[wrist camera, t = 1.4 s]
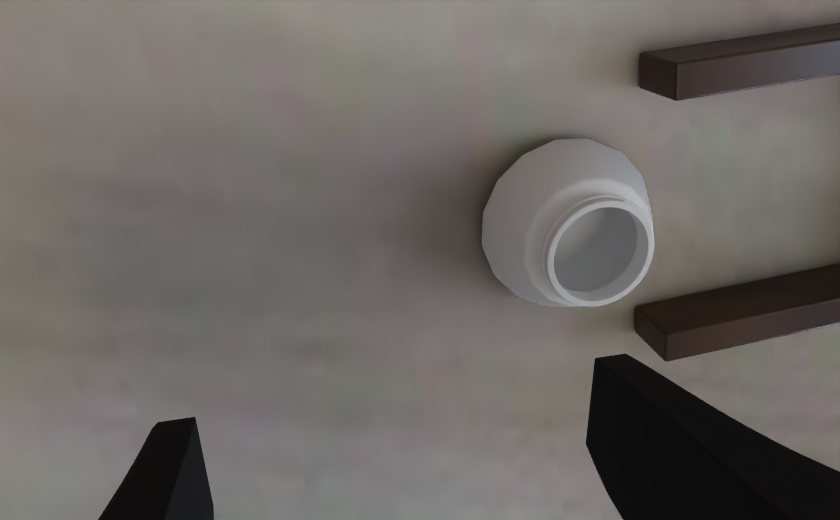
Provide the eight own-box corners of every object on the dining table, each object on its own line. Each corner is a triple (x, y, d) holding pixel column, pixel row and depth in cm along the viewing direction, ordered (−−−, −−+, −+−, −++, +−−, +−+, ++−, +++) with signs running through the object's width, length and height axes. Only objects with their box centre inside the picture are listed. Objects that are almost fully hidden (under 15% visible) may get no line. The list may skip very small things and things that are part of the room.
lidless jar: (590, 312, 24) (664, 169, 22) (633, 358, 21) (721, 199, 20) (451, 268, 22) (522, 110, 20) (479, 312, 19) (564, 134, 18)
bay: (633, 332, 24) (665, 363, 22) (638, 52, 21) (676, 62, 19) (899, 276, 26) (948, 300, 24) (948, 6, 22) (1010, 11, 20)
